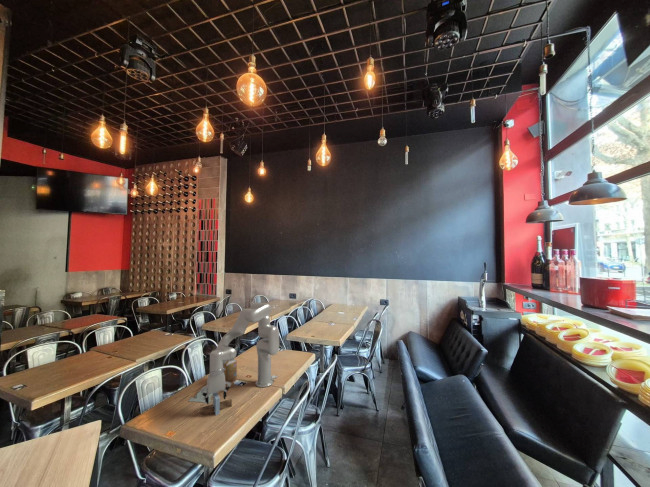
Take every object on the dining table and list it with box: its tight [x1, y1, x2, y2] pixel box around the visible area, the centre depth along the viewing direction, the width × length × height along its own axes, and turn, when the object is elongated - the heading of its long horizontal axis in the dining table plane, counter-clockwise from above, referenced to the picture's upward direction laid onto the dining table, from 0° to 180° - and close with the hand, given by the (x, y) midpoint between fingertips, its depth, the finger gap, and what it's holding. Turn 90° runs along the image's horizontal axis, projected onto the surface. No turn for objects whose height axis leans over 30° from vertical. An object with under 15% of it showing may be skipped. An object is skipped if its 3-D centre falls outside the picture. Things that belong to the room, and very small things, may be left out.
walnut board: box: [198, 398, 233, 417], centre depth 157 cm, size 18×1×4 cm, turn 122°
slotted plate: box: [212, 392, 221, 416], centre depth 157 cm, size 10×2×9 cm, turn 32°
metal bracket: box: [188, 385, 213, 404], centre depth 172 cm, size 14×6×15 cm
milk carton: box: [223, 358, 238, 387], centre depth 195 cm, size 11×11×19 cm
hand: (216, 400), depth 157 cm, fingers open, 9 cm apart
